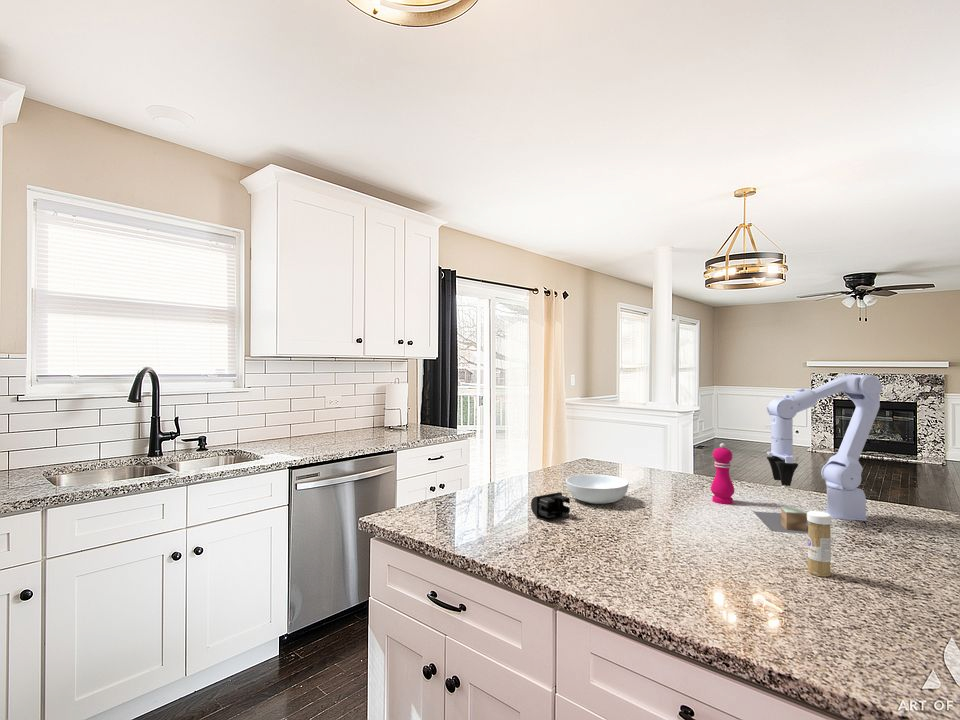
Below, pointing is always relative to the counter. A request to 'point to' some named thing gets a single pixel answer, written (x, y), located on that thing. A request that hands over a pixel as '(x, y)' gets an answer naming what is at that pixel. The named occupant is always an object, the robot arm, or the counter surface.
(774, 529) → the mat
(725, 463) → the pepper mill
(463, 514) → the counter surface
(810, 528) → the sprinkles bottle
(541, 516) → the end cap
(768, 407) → the robot arm
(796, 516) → the cube
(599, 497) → the serving bowl
